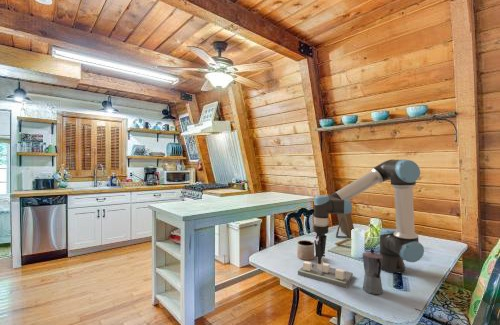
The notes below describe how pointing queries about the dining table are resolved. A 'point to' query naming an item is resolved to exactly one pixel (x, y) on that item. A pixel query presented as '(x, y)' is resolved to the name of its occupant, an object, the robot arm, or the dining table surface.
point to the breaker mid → (326, 268)
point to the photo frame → (345, 224)
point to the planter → (305, 250)
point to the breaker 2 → (339, 274)
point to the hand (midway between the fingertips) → (320, 268)
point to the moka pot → (372, 272)
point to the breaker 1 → (307, 266)
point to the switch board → (326, 276)
